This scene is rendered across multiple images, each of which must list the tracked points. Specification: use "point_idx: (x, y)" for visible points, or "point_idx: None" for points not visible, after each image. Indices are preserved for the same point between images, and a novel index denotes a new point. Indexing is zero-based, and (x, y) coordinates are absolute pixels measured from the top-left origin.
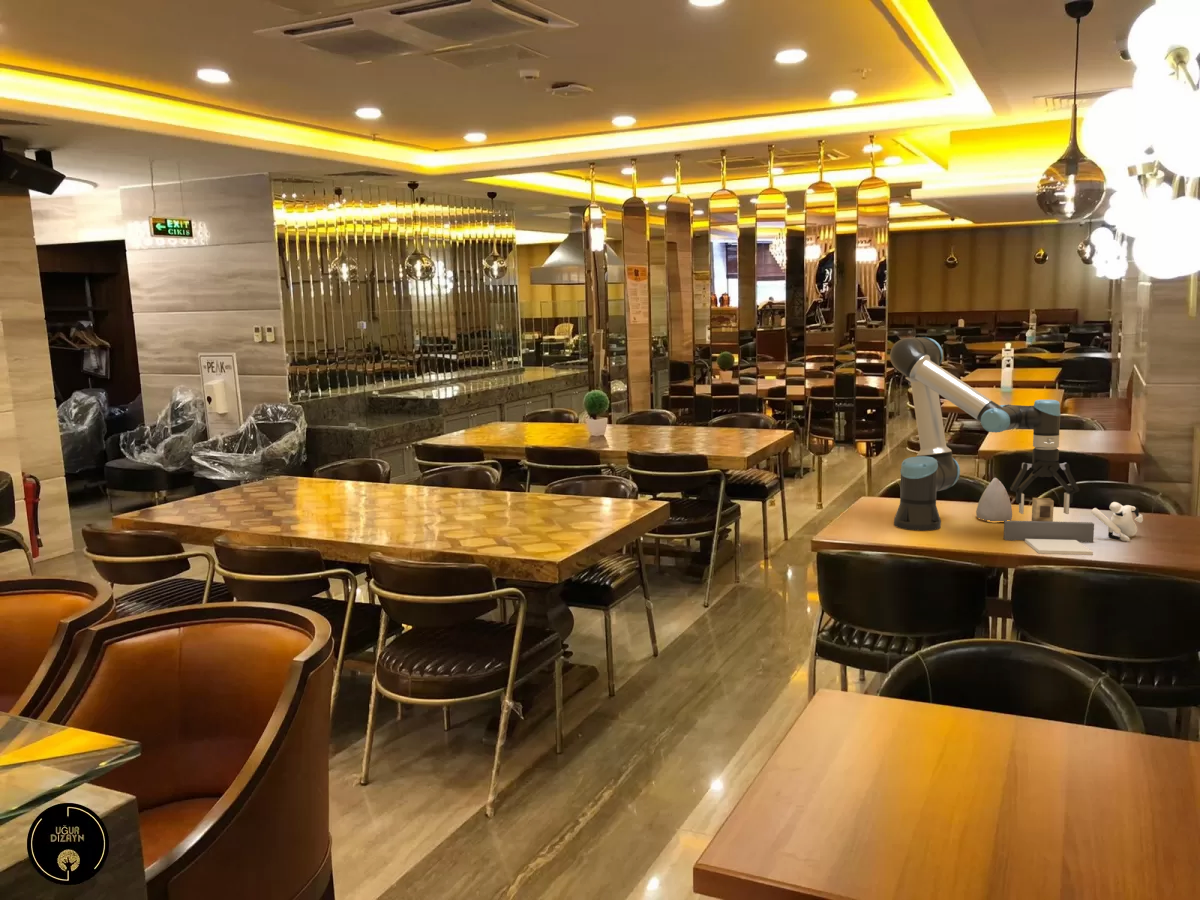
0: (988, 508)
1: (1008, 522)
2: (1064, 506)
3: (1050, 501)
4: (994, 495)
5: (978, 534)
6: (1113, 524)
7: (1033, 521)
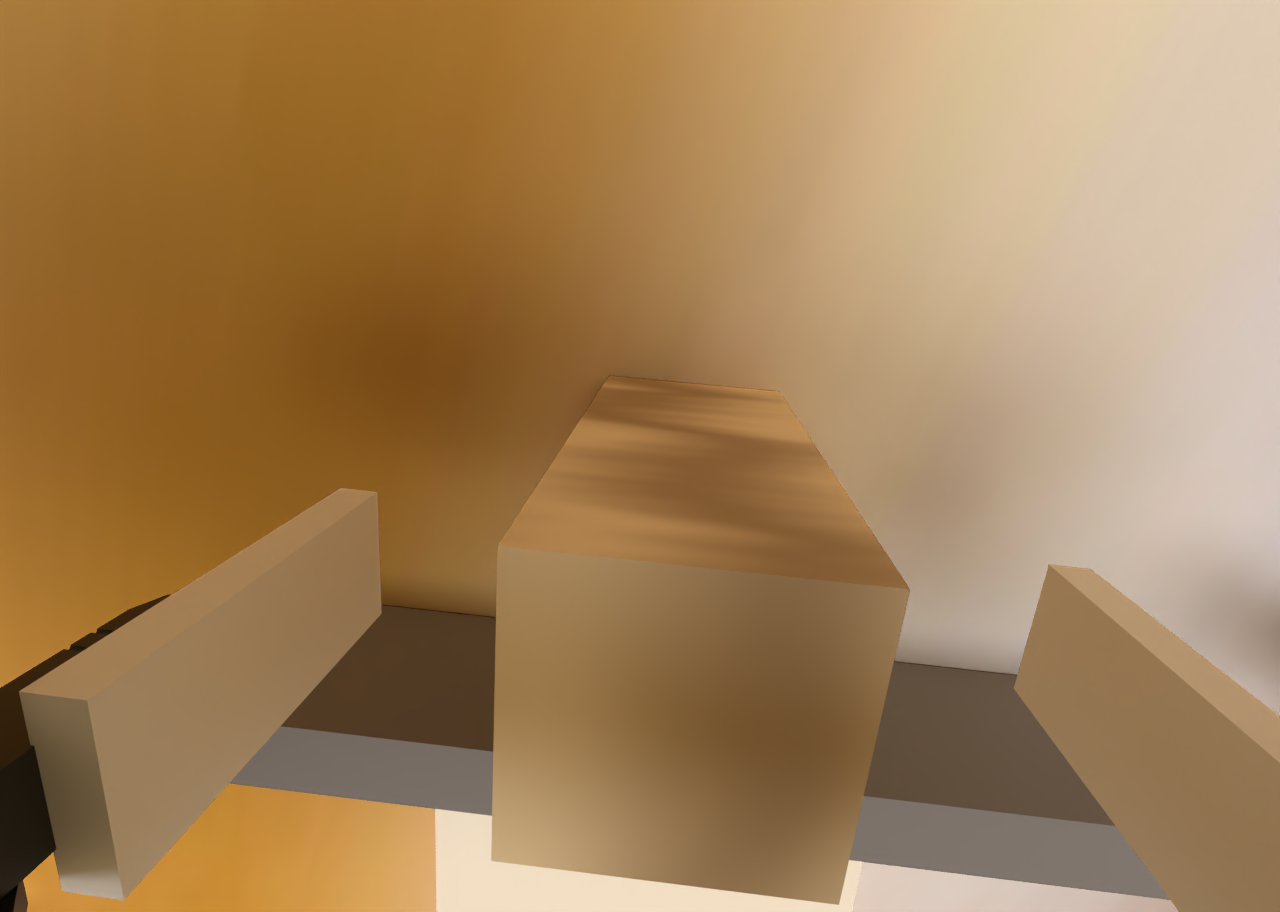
0: None
1: None
2: (1106, 659)
3: (767, 883)
4: None
5: (78, 414)
6: None
7: (479, 770)
